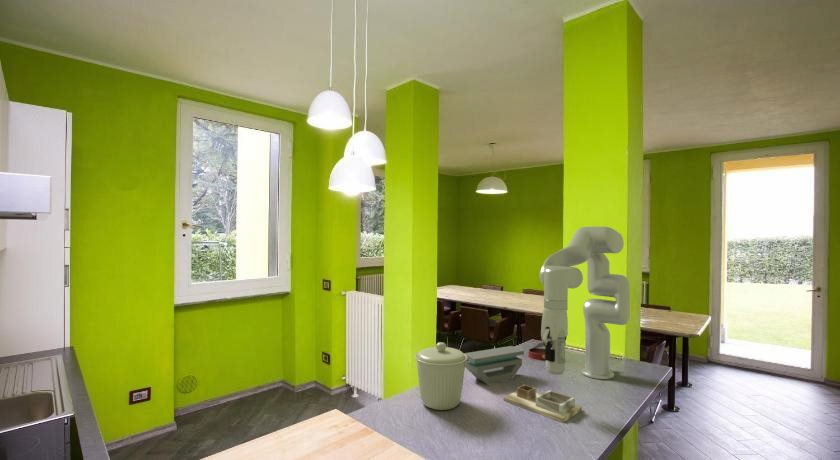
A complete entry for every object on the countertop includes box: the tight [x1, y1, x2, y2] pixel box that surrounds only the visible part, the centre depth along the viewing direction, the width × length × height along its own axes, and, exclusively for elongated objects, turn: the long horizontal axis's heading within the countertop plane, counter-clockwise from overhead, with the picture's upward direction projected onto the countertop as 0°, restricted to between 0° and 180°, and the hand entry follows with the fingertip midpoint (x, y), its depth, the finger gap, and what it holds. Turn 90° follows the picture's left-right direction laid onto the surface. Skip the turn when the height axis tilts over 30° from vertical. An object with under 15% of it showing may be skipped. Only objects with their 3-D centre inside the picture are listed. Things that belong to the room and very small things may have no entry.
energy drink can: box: [545, 328, 566, 376], centre depth 132 cm, size 6×6×15 cm
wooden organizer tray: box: [503, 384, 583, 424], centre depth 136 cm, size 13×22×4 cm, turn 43°
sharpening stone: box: [463, 345, 525, 386], centre depth 161 cm, size 25×8×11 cm, turn 118°
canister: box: [414, 341, 468, 411], centre depth 137 cm, size 18×18×21 cm
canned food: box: [528, 341, 546, 361], centre depth 190 cm, size 11×10×10 cm
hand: (555, 358), depth 132 cm, fingers closed on energy drink can, 6 cm apart
